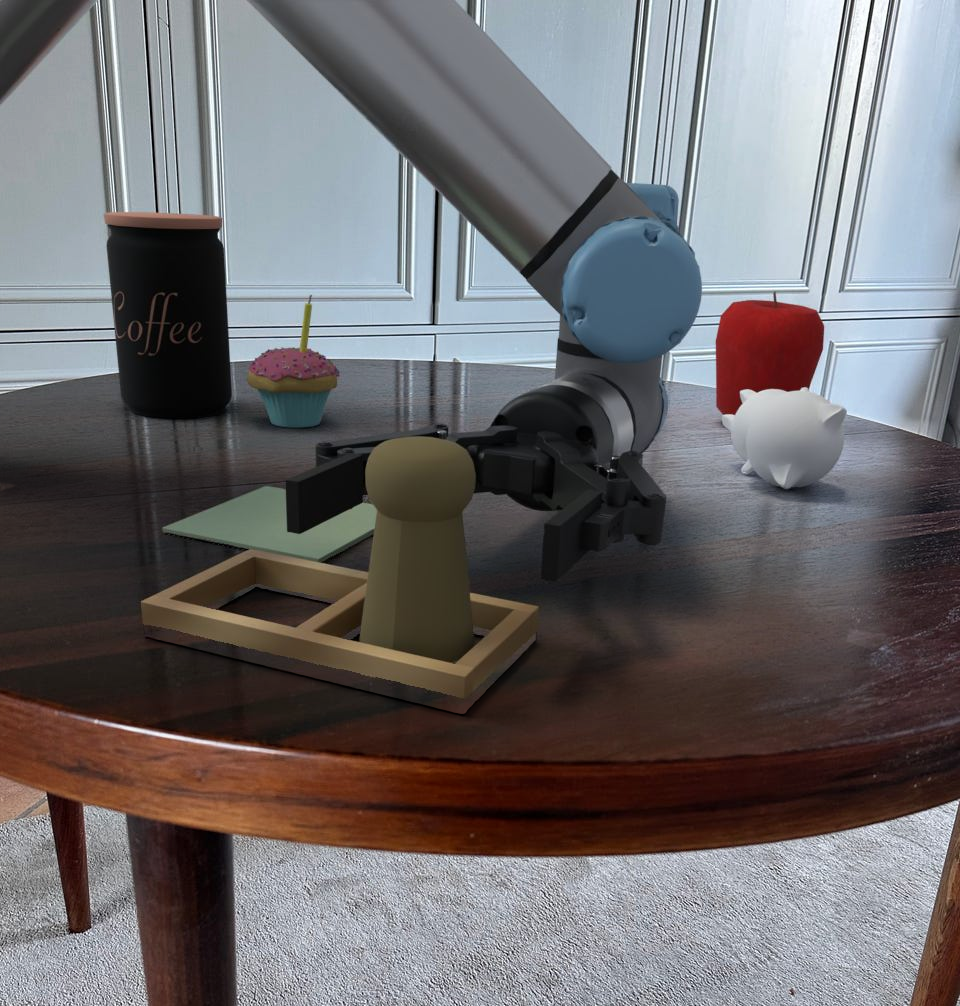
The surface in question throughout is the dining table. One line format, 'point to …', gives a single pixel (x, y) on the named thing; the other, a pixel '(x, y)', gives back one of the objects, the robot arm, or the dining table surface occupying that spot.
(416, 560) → the cork
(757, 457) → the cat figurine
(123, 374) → the coffee jar
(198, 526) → the mat
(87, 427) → the dining table surface
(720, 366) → the apple
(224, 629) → the stand
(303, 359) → the cupcake
